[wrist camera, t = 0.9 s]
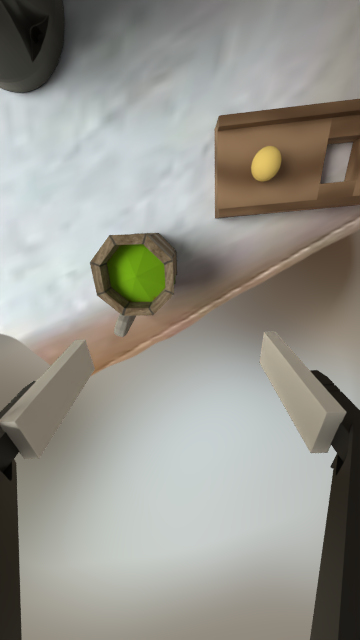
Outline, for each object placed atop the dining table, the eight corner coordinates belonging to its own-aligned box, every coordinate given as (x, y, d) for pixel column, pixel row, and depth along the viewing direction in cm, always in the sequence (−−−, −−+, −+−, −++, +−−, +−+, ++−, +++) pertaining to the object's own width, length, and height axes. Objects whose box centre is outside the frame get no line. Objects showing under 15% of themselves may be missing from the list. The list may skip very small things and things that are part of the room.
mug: (127, 220, 32) (98, 214, 21) (187, 245, 33) (190, 252, 22) (107, 303, 38) (77, 332, 27) (159, 321, 39) (150, 355, 29)
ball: (248, 153, 26) (257, 142, 23) (275, 150, 26) (289, 139, 22) (246, 185, 27) (255, 179, 24) (272, 182, 27) (284, 176, 24)
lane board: (214, 129, 27) (219, 115, 23) (379, 110, 26) (407, 92, 22) (215, 218, 31) (218, 216, 28) (354, 205, 30) (375, 202, 27)
